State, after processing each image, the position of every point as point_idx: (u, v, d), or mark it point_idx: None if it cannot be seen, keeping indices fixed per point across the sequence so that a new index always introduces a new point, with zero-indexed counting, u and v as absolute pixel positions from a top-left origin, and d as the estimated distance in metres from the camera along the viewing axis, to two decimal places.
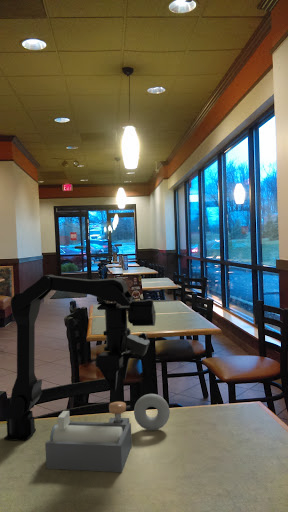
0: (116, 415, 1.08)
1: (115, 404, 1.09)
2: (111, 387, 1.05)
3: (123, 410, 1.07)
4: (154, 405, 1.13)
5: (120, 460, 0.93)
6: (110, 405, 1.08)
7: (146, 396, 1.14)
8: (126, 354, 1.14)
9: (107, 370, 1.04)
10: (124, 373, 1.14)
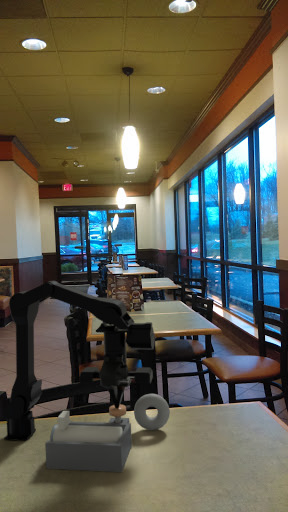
0: (116, 418, 1.08)
1: None
2: None
3: (123, 413, 1.07)
4: (154, 405, 1.13)
5: (120, 460, 0.93)
6: (110, 408, 1.08)
7: (146, 396, 1.14)
8: None
9: None
10: None
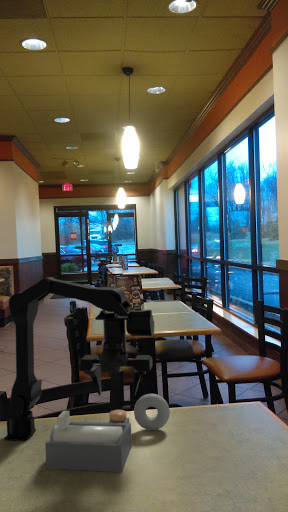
0: None
1: (115, 412, 1.09)
2: None
3: (123, 418, 1.07)
4: (154, 405, 1.13)
5: (120, 460, 0.93)
6: (110, 413, 1.08)
7: (146, 396, 1.14)
8: (135, 371, 1.07)
9: None
10: None
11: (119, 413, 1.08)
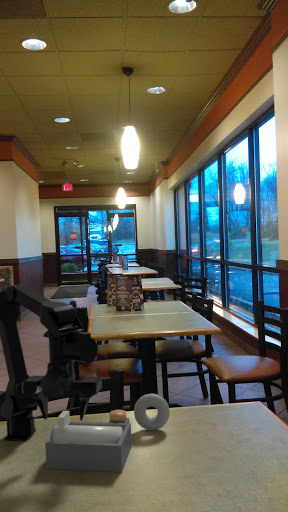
0: None
1: (115, 412, 1.09)
2: None
3: (123, 418, 1.07)
4: (154, 405, 1.13)
5: (120, 460, 0.93)
6: (110, 413, 1.08)
7: (146, 396, 1.14)
8: (81, 394, 1.00)
9: None
10: None
11: (119, 413, 1.08)
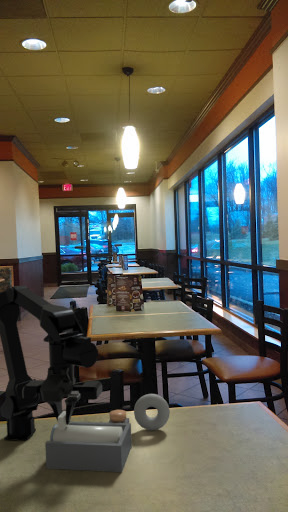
0: None
1: (115, 412, 1.09)
2: None
3: (123, 418, 1.07)
4: (154, 405, 1.13)
5: (120, 460, 0.93)
6: (110, 413, 1.08)
7: (146, 396, 1.14)
8: None
9: None
10: None
11: (119, 413, 1.08)
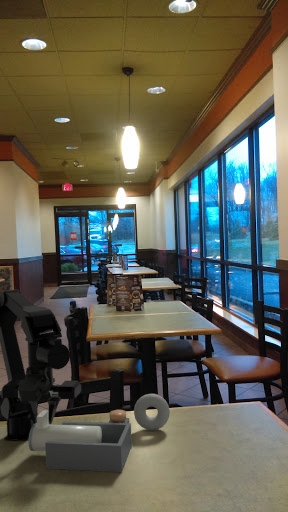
0: None
1: (115, 412, 1.09)
2: None
3: (123, 418, 1.07)
4: (154, 405, 1.13)
5: (120, 460, 0.93)
6: (110, 413, 1.08)
7: (146, 396, 1.14)
8: (50, 398, 1.01)
9: None
10: None
11: (119, 413, 1.08)
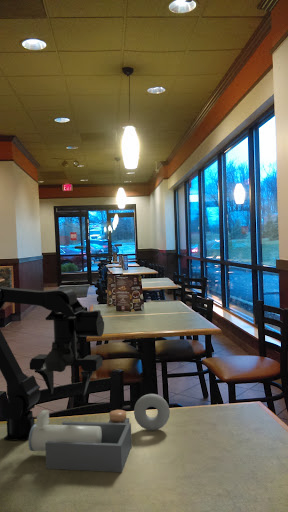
0: None
1: (115, 412, 1.09)
2: None
3: (123, 418, 1.07)
4: (154, 405, 1.13)
5: (120, 460, 0.93)
6: (110, 413, 1.08)
7: (146, 396, 1.14)
8: (83, 370, 1.08)
9: None
10: None
11: (119, 413, 1.08)
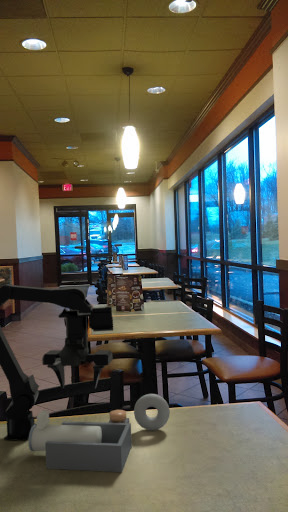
0: None
1: (115, 412, 1.09)
2: None
3: (123, 418, 1.07)
4: (154, 405, 1.13)
5: (120, 460, 0.93)
6: (110, 413, 1.08)
7: (146, 396, 1.14)
8: (95, 365, 1.13)
9: None
10: None
11: (119, 413, 1.08)
